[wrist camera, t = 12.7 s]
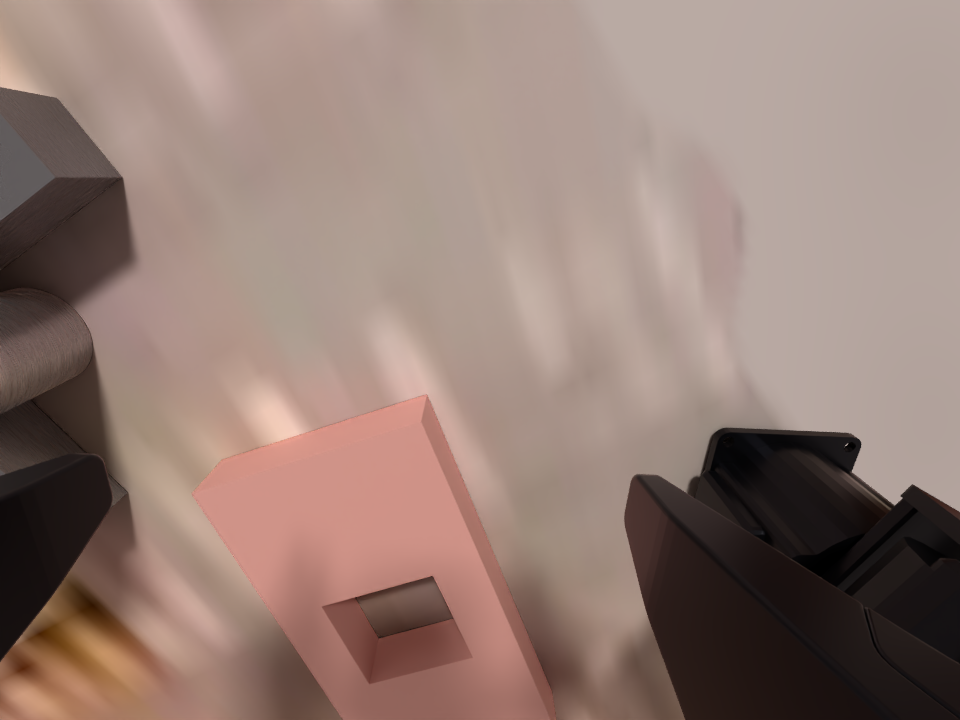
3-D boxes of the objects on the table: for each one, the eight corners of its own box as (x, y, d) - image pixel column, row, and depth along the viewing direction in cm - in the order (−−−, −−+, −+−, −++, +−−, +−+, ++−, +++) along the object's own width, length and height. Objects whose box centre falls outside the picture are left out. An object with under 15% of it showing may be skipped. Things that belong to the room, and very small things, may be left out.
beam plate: (221, 459, 22) (191, 493, 19) (426, 394, 21) (421, 421, 18) (391, 731, 29) (383, 780, 26) (552, 692, 28) (559, 740, 25)
